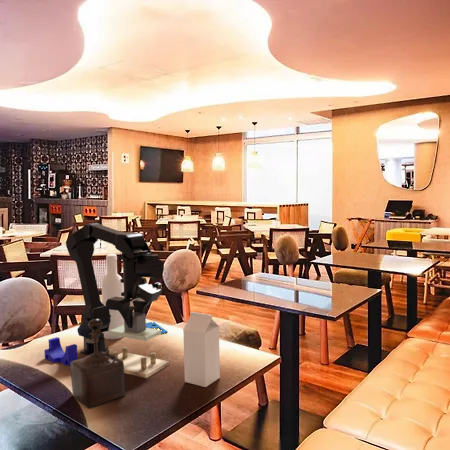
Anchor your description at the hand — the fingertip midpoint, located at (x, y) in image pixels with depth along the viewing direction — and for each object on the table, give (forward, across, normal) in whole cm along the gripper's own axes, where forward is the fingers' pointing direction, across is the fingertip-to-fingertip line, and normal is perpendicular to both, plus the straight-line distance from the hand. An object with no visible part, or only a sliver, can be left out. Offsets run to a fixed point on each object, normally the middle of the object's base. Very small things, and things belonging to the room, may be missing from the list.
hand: (134, 326), depth 137 cm
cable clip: (+12, -8, +24) cm, 28 cm away
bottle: (+12, +18, +25) cm, 33 cm away
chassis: (+12, -1, 0) cm, 12 cm away
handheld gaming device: (+13, +30, +18) cm, 37 cm away
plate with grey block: (+3, 0, 0) cm, 3 cm away
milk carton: (+12, -1, -24) cm, 27 cm away
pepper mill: (+12, -20, -2) cm, 23 cm away
